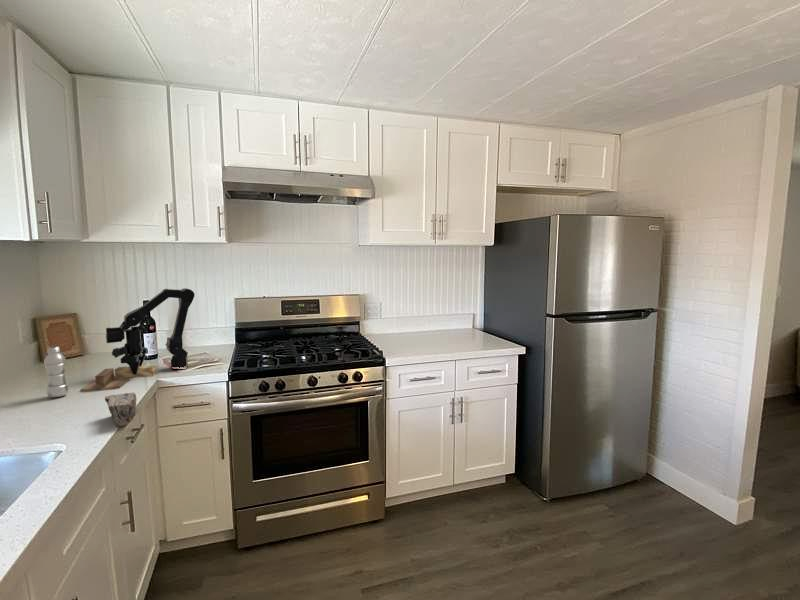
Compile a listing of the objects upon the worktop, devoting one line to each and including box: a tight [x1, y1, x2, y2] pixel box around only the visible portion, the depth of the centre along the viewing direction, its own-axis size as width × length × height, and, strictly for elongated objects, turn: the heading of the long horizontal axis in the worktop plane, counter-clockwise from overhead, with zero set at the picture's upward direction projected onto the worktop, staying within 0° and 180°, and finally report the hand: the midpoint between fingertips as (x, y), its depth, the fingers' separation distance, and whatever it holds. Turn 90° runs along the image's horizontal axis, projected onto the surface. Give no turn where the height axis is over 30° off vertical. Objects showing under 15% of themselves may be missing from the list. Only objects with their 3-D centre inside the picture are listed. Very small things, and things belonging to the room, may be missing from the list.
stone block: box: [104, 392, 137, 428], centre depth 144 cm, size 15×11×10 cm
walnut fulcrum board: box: [79, 367, 130, 392], centre depth 180 cm, size 14×12×6 cm
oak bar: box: [114, 364, 158, 378], centre depth 194 cm, size 16×4×4 cm, turn 99°
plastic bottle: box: [43, 345, 69, 398], centre depth 166 cm, size 6×7×20 cm
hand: (136, 373), depth 195 cm, fingers closed on oak bar, 4 cm apart
